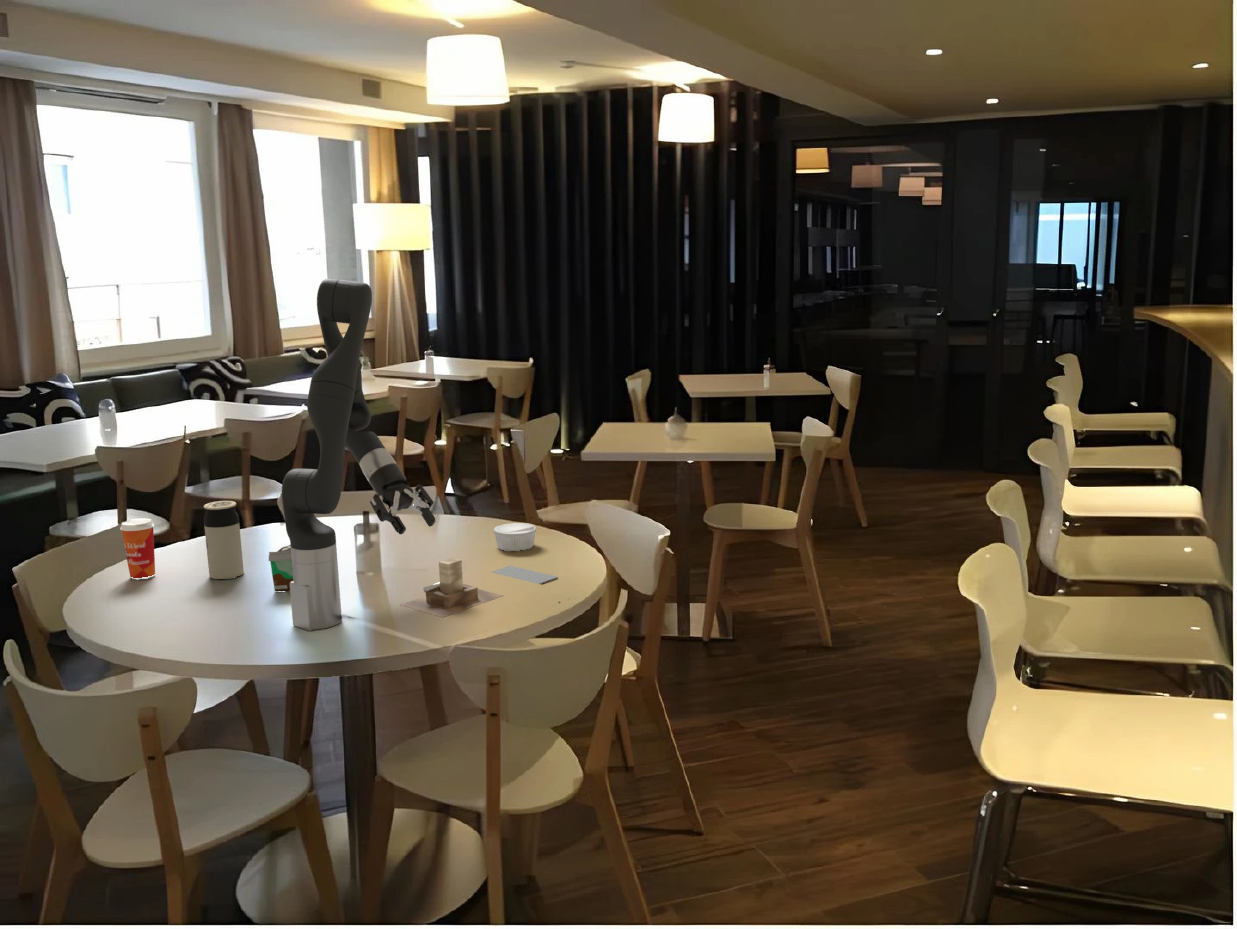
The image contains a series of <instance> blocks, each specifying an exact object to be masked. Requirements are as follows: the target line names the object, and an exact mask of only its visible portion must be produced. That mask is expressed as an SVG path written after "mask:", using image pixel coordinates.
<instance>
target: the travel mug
mask: <svg viewBox="0 0 1237 929" xmlns="http://www.w3.org/2000/svg"><path fill="white" fill-rule="evenodd" d="M236 506H237V502H236V501H233V500H219V501H218V500H217V501H211V502H208V503H206V504H204V505H203V508H204V509H205V515H204V518H203V526H204V536H205V545H206V546H205V547H206V556H207V565H208V575H209V578H211V579H212V580H213V579H214V580H217V579H225V580H230V579H229V578H232V579H235V578H234V577H236V578H238V577H237V576H239V577H240V576H242V575H243V574H244V573H245V572H244V560H243V548H242V540H241V537H242V536H241V529H240V528H241V526H240V517H239V514H238V512H237V511H236Z"/></svg>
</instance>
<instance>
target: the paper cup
mask: <svg viewBox="0 0 1237 929" xmlns="http://www.w3.org/2000/svg"><path fill="white" fill-rule="evenodd" d="M153 522H154V521H153V519H151V518H142V517H141V518H135V519H134V518H133V519H129V520H126V521H122V522H121V525H120V528H119V529H120V531H121V533H122V539H123V544H124V551H125V555H126V562H127V567H128V571H129V572H128V574H129V577H133V578H142V577H148V576H152V575H154V574H155V575H156V559H155V538H154V536H155V535H154V534H155V533H154V527H155V524H154V523H153Z"/></svg>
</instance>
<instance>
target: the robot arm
mask: <svg viewBox="0 0 1237 929" xmlns="http://www.w3.org/2000/svg"><path fill="white" fill-rule="evenodd" d="M319 284H320V285H319V286H318V289H317V295H316V308H317V309H316V310H317V315H318V316H317V318H318V320H319V325H320V330H321V335H322V340H323V343H324V348H325V351H326V355H327V356H326V358H325V359H324V360H323V361H322V362H321V363H320V364H319V365H318V367H317V368H316V369H315V370H314V372H313V373H312V377H311V379H310V384H309V389H308V396H307V401H306V409H307V414H308V416H309V419H310V421H311V424H312V425H313V428H314V431H315V433H316V436H317V439H318V442H319V448H320V453H319V454H320V455H319V464H318V468H317V469H316V468H315V469H314V468H293V469H290V470H288V472H287V473H286V474H285V475H284V477H283V480H282V482H281V483H282V484H281V502H282V508H283V509H282V510H283V516H284V521H285V522H284V523H285V531H286V534H287V536H288V538H289V541H290V542H289V543H290V544H289V545H291V556H292V569H293V581H292V582H290V591H289V594H290V595H289V596H290V603H291V604H290V606H291V618H292V626H295V627H298V628H300V629H303V630H306V631H313V630H320V629H321V630H322V629H328V628H331V627H335V626H337V625H338V624H340V623H341V622H342V620H343V616H342V614H343V613H342V605H341V604H342V602H341V591H340V589H341V587H340V577H339V576H340V575H339V565H338V564H339V562H338V552H337V551H338V550H337V549H338V548H337V536H336V535H337V534H336V531H335V529H334V528H332V527H331V526H329V525H327V524H325V523H324V522H322V521H320V519H318V518H317V517H316V514H317V515H329V514H331V513H333V512H334V511H335V510H336V509H337V507H338V505H339V503H340V500H341V495H342V488H343V477H344V476H343V475H344V464H345V452H346V450H348V451H349V452H350V453H351V454H352V455H353V457H354V459H355V461H356V462H357V463H358V465H359V467H360V469H361V471H362V474H363V475H364V476H365V478H366V480H367V482H368V483H369V485H370V486H371V487H372V489H373V491H374V492H375V493H374V495H373V496H372V497H371V499H370V501H369V503H370V505H371V507H372V509H373V512H374V513H375V514H376V516H377V518H378V520H379V522H381V523H383V522H388V523H390V524H391V526H392V527H393V529H394V530H395V532H396V533H398V534H399V535H403V534H405V532H406V530H407V528H406V525H405V524H404V522H403V521H402V520H401V518H400V516H399V515H397V514H398V513H397V512H398V511H401V510H406V509H409V510H412V511H417V512H418V513H420V514H421V517H422V518H423V520H424V521H425V523H426V525H427V526H428V527H433V526H434V525H435V523H436V517H435V516H434V514H433V512H432V511H431V508H432V506H433V505H434V504H435V503H434V500H433V498H432V497H431V496H430V495H429V494H428V492H427V491H426V489H425V488H424V487H423V485H422V484H420V483H418V484H417V486H415V487H410V485H409V484H408V482H407V477H406V476H405V475H404V472H403V471H402V470H401V468H400V467H399V465H398V463H397V462H396V460H395V459H394V457H393V456H392V455H391V454H390V453H389V451H388V450H387V449H386V447H385V446H384V444H383V442H382V440H380V438H379V436H378V435H377V434H376V433H375V432H374V431H361V430H364V429H366V428H368V426H370V423H371V421H372V414H371V413H372V412H371V411H370V408H369V406H368V404H367V401H366V398H365V394H364V392H363V379H362V376H363V375H362V366H361V363H360V356H361V353H362V348H363V343H364V339H365V334H366V331H367V327H368V323H369V319H370V316H371V309H372V302H373V292H372V288H371V286H370V285H369V284H368V283H366V282H362V281H355V280H354V281H353V280H345V279H339V278H337V279H336V278H324V279H323V280H322V281H321V283H319ZM338 323H339V324H347V325H348V327H347V330H346V331H345V334H344V336H343V334H342V333H341V331H340V328H339V326H338ZM413 502H414V503H413ZM385 505H386V506H387V507H386V506H385Z"/></svg>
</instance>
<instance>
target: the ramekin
mask: <svg viewBox="0 0 1237 929" xmlns="http://www.w3.org/2000/svg"><path fill="white" fill-rule="evenodd" d="M536 533H537V527H536V525H534V524H532V523H527V522H526V523H525V522H512V523H509V522H508V523H504V524H500V525H496V526H495V527H494V529H493V534H494V537H495V542H496V546H497V548H498V549H499V550H500V551H503V550H504V552H510V551H516V552H521V551H520V550H524V551H526V550H525V549H528V550H530V549H532V547H533V546H534V544H535V538H536V537H535V536H536ZM529 548H530V549H529Z"/></svg>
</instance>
